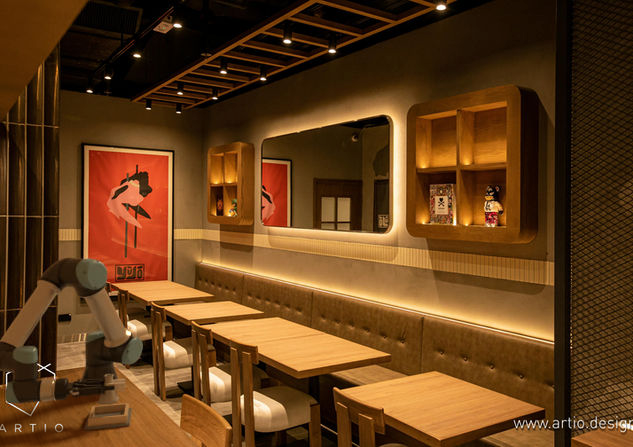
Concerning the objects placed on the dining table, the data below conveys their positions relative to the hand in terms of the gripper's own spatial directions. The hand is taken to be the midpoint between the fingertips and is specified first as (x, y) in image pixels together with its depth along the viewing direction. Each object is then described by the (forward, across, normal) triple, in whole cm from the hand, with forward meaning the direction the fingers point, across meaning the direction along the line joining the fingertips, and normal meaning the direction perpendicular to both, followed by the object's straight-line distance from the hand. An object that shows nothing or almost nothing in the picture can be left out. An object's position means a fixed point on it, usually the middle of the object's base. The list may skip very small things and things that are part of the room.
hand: (124, 384), depth 195 cm
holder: (-5, 0, -13) cm, 14 cm away
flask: (-5, 0, -6) cm, 8 cm away
